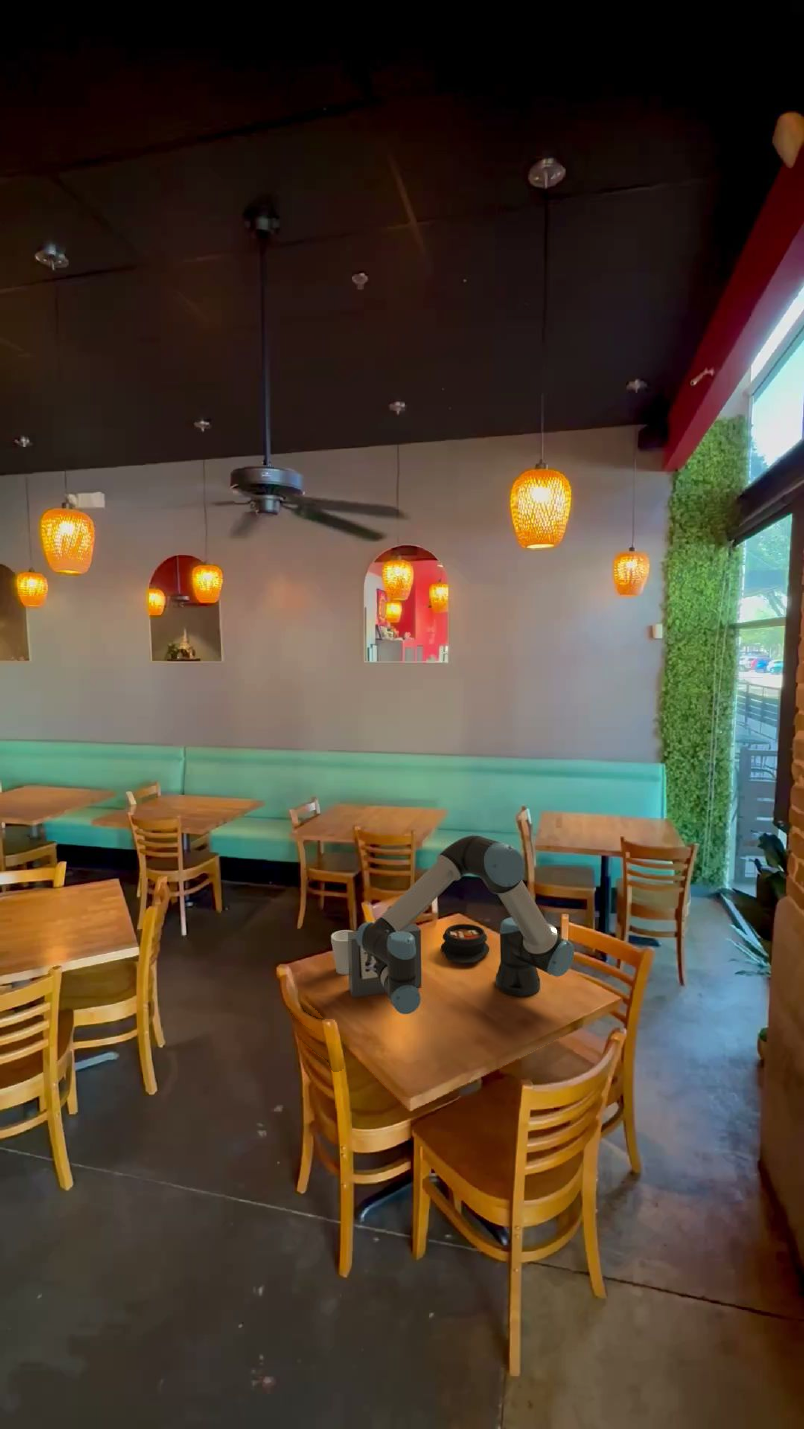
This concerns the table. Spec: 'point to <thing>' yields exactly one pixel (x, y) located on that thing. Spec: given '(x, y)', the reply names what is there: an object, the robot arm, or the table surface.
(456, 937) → the casserole
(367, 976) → the left rocker
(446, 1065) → the table surface
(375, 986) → the switch panel
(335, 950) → the foam cup
